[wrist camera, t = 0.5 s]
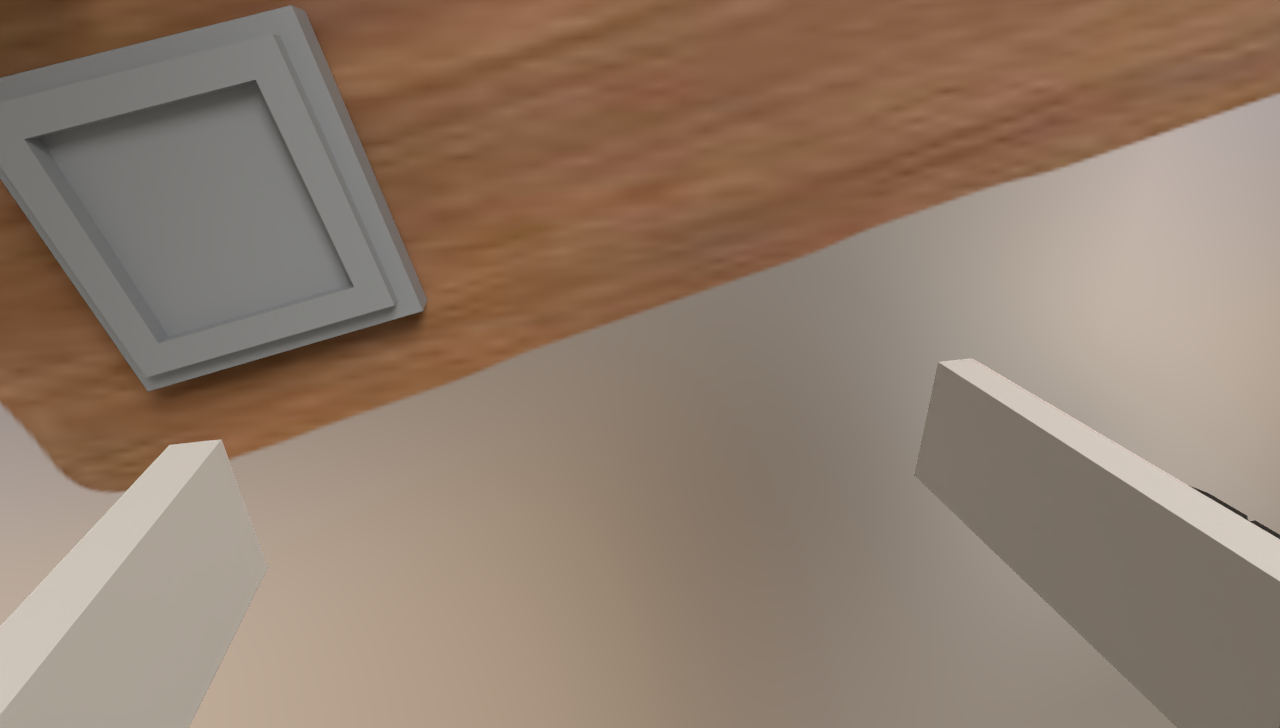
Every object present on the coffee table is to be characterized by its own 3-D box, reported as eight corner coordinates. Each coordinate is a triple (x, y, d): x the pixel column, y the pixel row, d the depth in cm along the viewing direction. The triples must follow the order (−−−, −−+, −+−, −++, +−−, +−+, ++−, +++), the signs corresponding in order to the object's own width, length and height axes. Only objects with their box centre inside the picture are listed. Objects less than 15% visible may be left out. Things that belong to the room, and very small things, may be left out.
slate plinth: (-23, 92, 28) (-80, 92, 25) (305, 10, 29) (283, 2, 26) (167, 376, 34) (137, 399, 31) (427, 300, 35) (420, 317, 33)
